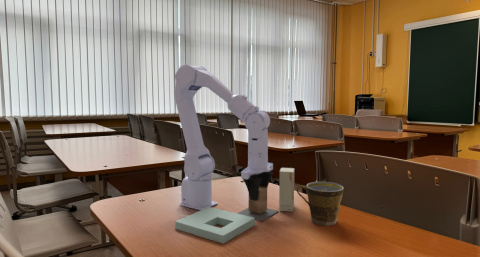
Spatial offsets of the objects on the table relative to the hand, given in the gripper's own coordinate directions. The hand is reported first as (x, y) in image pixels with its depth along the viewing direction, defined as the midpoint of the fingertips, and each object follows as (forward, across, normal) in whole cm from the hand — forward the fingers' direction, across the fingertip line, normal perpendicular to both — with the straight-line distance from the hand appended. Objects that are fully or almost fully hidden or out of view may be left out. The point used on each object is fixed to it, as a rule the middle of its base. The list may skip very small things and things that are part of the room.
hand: (257, 197), depth 101 cm
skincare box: (+5, +9, -5) cm, 11 cm away
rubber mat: (+5, 0, 0) cm, 5 cm away
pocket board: (+5, -15, +4) cm, 16 cm away
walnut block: (+4, 0, 0) cm, 4 cm away
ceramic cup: (+5, +5, -17) cm, 18 cm away
